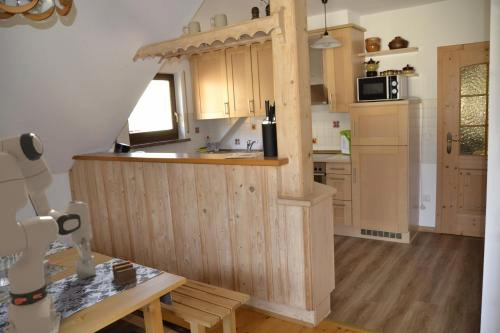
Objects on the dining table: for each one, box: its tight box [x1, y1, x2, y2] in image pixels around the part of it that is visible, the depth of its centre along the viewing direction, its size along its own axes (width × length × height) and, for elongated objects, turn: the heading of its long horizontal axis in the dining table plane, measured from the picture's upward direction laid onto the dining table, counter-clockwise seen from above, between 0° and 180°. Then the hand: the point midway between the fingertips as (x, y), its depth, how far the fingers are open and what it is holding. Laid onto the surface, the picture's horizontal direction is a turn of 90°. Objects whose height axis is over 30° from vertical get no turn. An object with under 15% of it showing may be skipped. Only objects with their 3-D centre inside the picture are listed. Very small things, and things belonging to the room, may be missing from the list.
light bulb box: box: [43, 259, 53, 286], centre depth 180 cm, size 11×7×11 cm, turn 168°
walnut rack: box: [111, 260, 138, 286], centre depth 184 cm, size 9×8×6 cm
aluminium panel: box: [74, 255, 97, 281], centre depth 189 cm, size 2×8×9 cm, turn 121°
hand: (85, 264), depth 189 cm, fingers open, 4 cm apart
